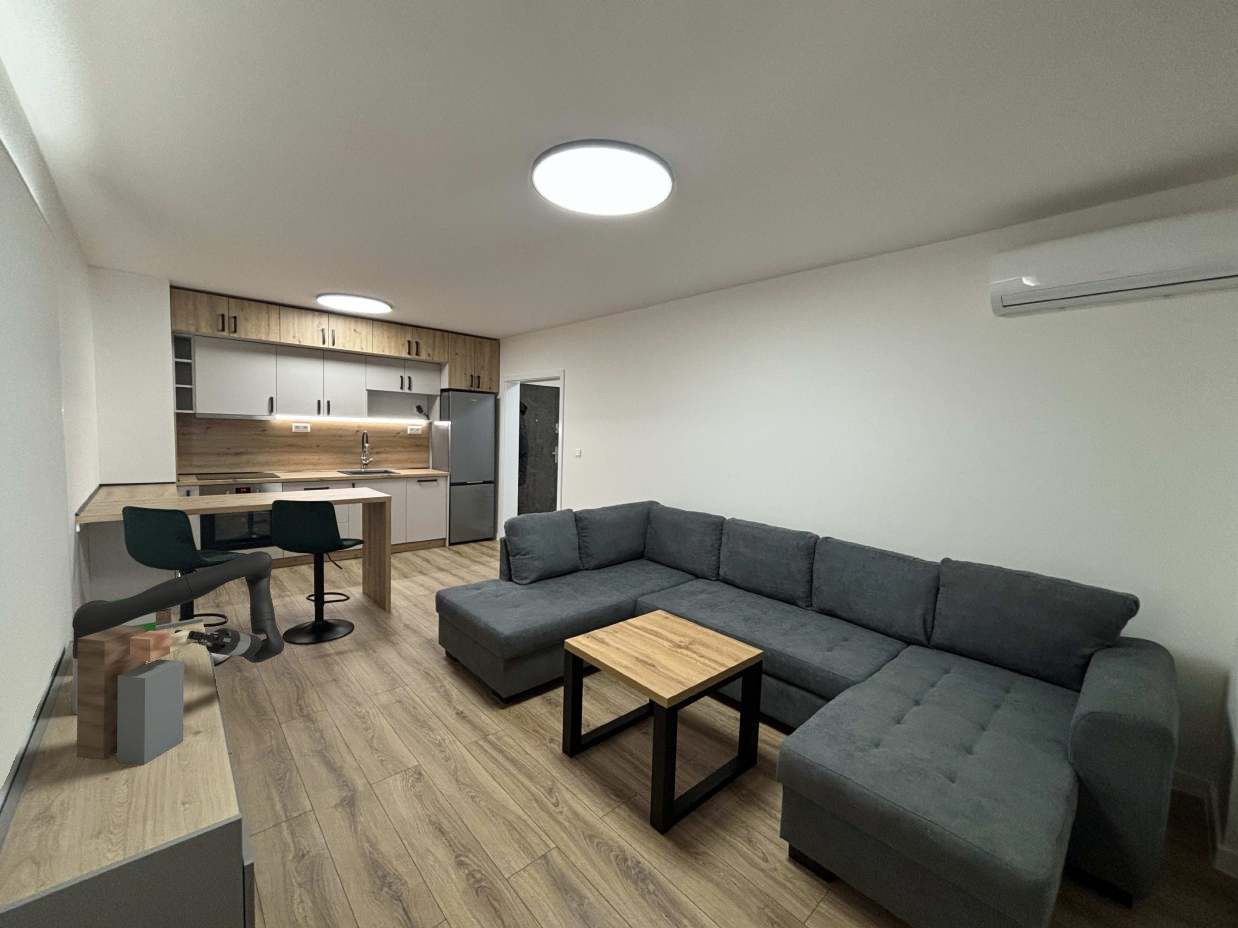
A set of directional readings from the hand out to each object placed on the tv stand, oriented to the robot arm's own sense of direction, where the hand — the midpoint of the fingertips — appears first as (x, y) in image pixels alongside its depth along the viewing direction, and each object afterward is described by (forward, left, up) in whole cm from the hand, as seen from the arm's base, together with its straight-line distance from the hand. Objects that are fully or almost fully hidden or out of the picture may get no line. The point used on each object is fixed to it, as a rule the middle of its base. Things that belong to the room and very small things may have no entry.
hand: (182, 633), depth 137 cm
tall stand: (-11, -9, -29) cm, 33 cm away
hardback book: (-66, +29, -30) cm, 78 cm away
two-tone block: (0, -3, -3) cm, 4 cm away
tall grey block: (+1, -8, -29) cm, 30 cm away
